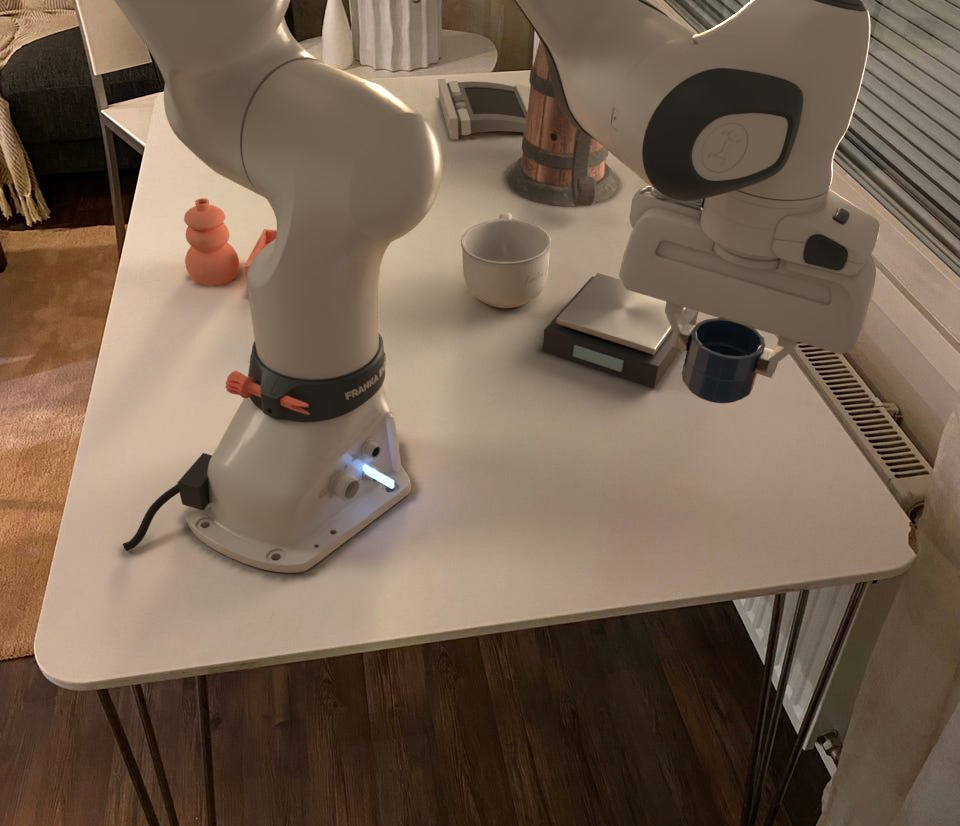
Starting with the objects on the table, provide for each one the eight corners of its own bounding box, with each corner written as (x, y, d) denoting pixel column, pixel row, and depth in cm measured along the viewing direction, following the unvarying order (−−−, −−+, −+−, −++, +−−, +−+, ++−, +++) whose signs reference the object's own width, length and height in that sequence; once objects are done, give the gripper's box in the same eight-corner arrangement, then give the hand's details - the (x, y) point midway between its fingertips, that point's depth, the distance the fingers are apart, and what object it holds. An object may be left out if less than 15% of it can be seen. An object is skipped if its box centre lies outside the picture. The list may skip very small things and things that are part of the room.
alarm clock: (437, 79, 166) (531, 70, 167) (439, 106, 169) (531, 97, 171) (449, 119, 154) (550, 109, 155) (451, 147, 157) (550, 137, 158)
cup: (739, 414, 83) (753, 366, 80) (671, 391, 85) (682, 344, 82) (759, 378, 87) (773, 331, 84) (694, 357, 89) (705, 310, 86)
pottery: (336, 264, 126) (331, 192, 119) (320, 302, 119) (314, 229, 112) (200, 253, 127) (187, 181, 120) (177, 290, 120) (162, 217, 113)
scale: (653, 389, 108) (657, 367, 106) (540, 352, 113) (542, 330, 111) (694, 329, 118) (699, 308, 116) (589, 297, 122) (592, 276, 120)
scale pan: (653, 355, 107) (655, 349, 107) (555, 324, 111) (556, 318, 110) (689, 305, 115) (690, 300, 114) (596, 278, 119) (597, 272, 118)
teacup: (538, 324, 117) (543, 265, 112) (451, 311, 118) (452, 253, 113) (554, 268, 127) (560, 211, 122) (474, 257, 129) (476, 200, 123)
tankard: (498, 158, 152) (505, 22, 138) (602, 155, 154) (619, 22, 140) (524, 229, 135) (536, 83, 121) (641, 225, 137) (665, 81, 123)
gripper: (621, 192, 76) (598, 340, 85) (885, 263, 69) (829, 415, 79) (649, 163, 80) (625, 308, 89) (901, 228, 73) (846, 376, 83)
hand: (722, 359), depth 84 cm, fingers closed on cup, 6 cm apart
